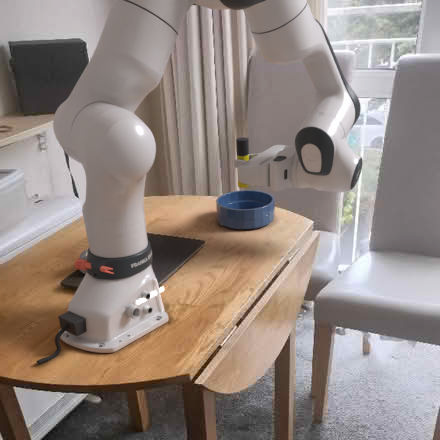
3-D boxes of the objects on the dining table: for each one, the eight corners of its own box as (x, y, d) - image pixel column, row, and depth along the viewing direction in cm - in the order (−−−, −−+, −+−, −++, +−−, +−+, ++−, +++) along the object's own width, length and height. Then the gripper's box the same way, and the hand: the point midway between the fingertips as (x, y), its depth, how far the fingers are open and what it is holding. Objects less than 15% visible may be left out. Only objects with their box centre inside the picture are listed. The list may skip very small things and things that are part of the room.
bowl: (258, 234, 148) (257, 213, 145) (206, 225, 155) (205, 205, 151) (283, 214, 159) (284, 194, 155) (234, 207, 165) (234, 187, 162)
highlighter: (245, 188, 143) (244, 141, 136) (235, 187, 144) (234, 140, 138) (251, 185, 145) (250, 138, 138) (241, 183, 146) (239, 136, 140)
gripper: (310, 140, 141) (259, 136, 147) (272, 164, 127) (217, 158, 133) (309, 167, 144) (259, 162, 150) (272, 193, 131) (219, 186, 137)
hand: (239, 160), depth 141 cm, fingers closed on highlighter, 3 cm apart
